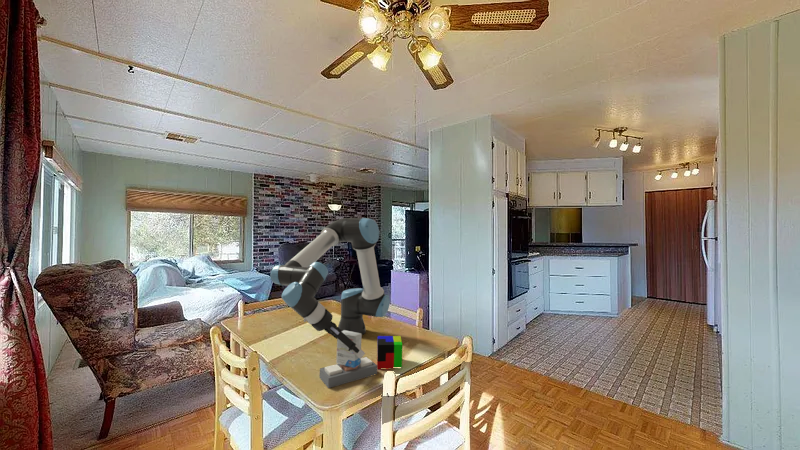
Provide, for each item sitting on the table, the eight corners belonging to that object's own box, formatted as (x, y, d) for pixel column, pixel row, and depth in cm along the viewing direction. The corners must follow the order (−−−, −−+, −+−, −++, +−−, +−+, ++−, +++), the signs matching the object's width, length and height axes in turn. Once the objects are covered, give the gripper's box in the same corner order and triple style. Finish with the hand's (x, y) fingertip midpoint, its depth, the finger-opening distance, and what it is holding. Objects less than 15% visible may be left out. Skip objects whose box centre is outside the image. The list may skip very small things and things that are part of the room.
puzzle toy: (377, 358, 137) (377, 336, 137) (399, 358, 138) (400, 336, 138) (377, 369, 127) (377, 344, 127) (401, 369, 128) (402, 344, 128)
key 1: (336, 370, 121) (336, 364, 121) (342, 375, 117) (342, 369, 117) (324, 373, 118) (324, 367, 118) (329, 379, 114) (329, 372, 114)
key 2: (366, 363, 128) (366, 356, 128) (372, 367, 124) (372, 361, 124) (355, 365, 126) (355, 359, 126) (360, 370, 122) (361, 364, 122)
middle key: (351, 366, 125) (352, 360, 125) (357, 371, 121) (357, 365, 121) (340, 369, 122) (340, 363, 122) (345, 375, 118) (345, 368, 118)
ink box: (361, 363, 122) (362, 332, 122) (354, 368, 117) (355, 336, 117) (343, 358, 125) (344, 329, 125) (335, 363, 121) (336, 332, 121)
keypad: (366, 365, 131) (366, 357, 131) (377, 374, 123) (377, 365, 123) (319, 377, 120) (319, 368, 120) (328, 388, 112) (328, 378, 112)
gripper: (301, 316, 122) (338, 349, 131) (321, 334, 104) (363, 370, 112) (315, 301, 125) (350, 334, 134) (337, 315, 106) (376, 352, 115)
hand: (356, 351), depth 123 cm, fingers closed on ink box, 10 cm apart
